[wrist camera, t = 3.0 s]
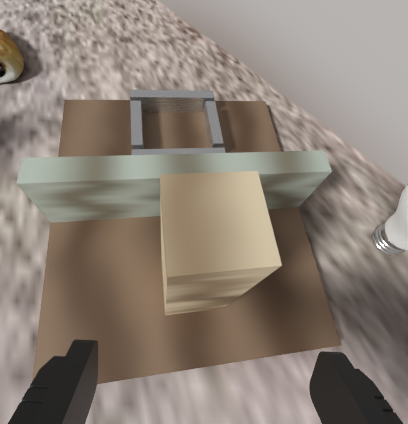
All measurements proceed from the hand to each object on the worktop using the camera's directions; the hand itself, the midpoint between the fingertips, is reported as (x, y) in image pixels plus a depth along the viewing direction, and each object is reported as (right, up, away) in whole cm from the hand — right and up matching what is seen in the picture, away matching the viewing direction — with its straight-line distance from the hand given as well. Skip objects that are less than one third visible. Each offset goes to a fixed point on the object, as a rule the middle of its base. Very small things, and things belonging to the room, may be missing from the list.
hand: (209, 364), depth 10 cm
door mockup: (-2, +6, +16) cm, 17 cm away
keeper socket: (-3, +13, +20) cm, 24 cm away
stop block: (-1, 0, +12) cm, 12 cm away
